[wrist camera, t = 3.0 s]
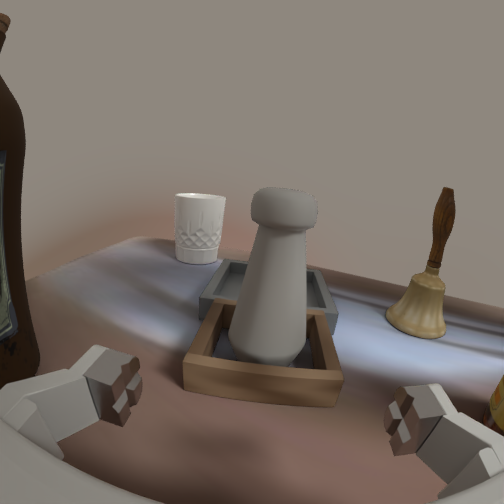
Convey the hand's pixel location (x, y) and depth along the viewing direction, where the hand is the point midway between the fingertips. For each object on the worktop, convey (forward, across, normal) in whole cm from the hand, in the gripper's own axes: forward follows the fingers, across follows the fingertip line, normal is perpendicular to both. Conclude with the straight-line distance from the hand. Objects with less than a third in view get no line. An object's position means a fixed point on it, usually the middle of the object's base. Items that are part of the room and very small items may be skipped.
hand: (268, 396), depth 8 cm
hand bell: (+21, -18, +8) cm, 29 cm away
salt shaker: (+12, 0, +8) cm, 14 cm away
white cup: (+36, +12, +8) cm, 39 cm away
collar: (+12, 0, +8) cm, 14 cm away
